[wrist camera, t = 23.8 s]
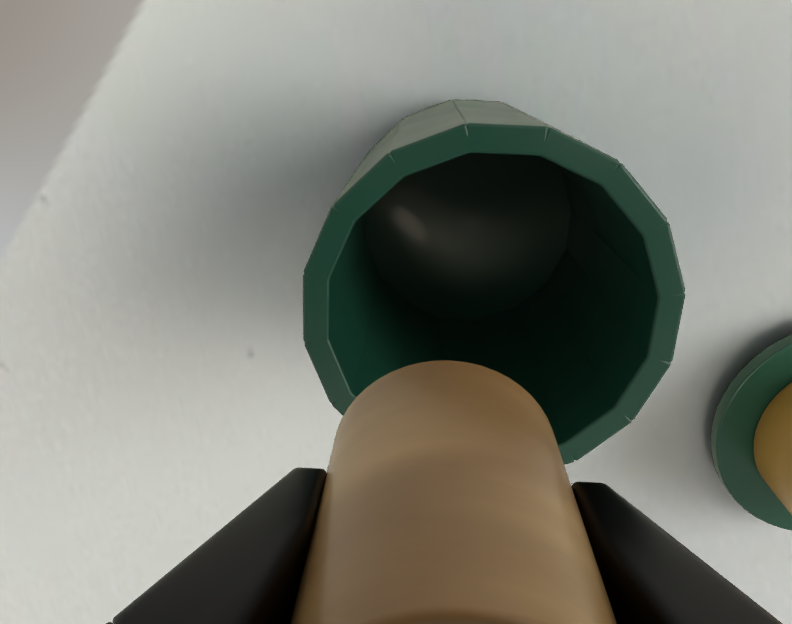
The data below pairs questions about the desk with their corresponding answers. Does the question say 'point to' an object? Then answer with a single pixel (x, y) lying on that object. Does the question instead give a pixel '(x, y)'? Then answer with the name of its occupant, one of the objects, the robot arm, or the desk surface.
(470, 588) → the peg
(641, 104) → the desk surface
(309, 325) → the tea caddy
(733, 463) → the lid
